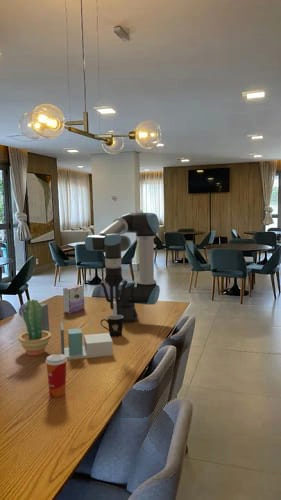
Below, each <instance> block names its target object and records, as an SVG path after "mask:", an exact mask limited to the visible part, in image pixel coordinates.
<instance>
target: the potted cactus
mask: <svg viewBox="0 0 281 500" xmlns="http://www.w3.org/2000/svg"><path fill="white" fill-rule="evenodd" d="M40 304H41V303H40V302H39V301H38V300H37V299H32V300H31V299H28V300H27V302H26V303H23V304H22V305H20V307H19V308H18V314H19V316H20V317H21V318H22V319H23V321H24V323H25V326H26V332H23V333H21V334H19V335H18V337H17V339H18V342H20V344H21V346H22V348H23V349H24V350H25V354H26V355H29V356H39V355H42V354H44V353H45V352H46V348H47V346H48V343H49V341H50V339H52V338H51V337H52V333H51V332H50V331H49V332H48V331H42V327H41V320H42V306H41V305H40Z"/></svg>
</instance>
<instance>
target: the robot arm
mask: <svg viewBox="0 0 281 500" xmlns="http://www.w3.org/2000/svg"><path fill="white" fill-rule="evenodd" d="M159 231H160V221H159V217H158V216H157V214H156V213H153V212H129V213H126V214H123V215H120V216H119V217H117V218H115V219H114V220H113V222H112V223H111V224H110V225H108V226H107V227H105V228H104V229H103V230H101V231H100V232H97V234H95V235H92V234H91V235H87V236H86V237H85V240H84V245H85V246H84V247H85V249H86V250H87V251H92V252H93V251H95V252H99V251H101V252H103V251H104V255H105V257H104V259H105V262H104V263H105V265H104V266H105V277H104V279H103V281H100V283H99V284H100V285H101V287H102V290H103V293H104V296H105V300H106V302H107V303H110V304H109V306H110V307H109V309H110V310H112V315H113V316H117V315H122V316H123V317H124V318H123V324H124V323H126V322H129V323H133V321H134V322H136V321H138V320H139V319H138V318H139V315H138V312H137V309H136V304H137V305H138V304H139V305H147V306H148V305H153V306H154V305H155V304H156V303H158V300H159V297H160V293H161V288H160V286H159V285H158V284H157V280H155V277H154V276H155V273H154V272H155V270H154V269H155V265H154V263H155V261H154V260H155V258H154V257H155V256H154V252H155V251H154V249H155V246H154V241H155V240H154V239H155V238H156V237H157V234H158V233H159ZM126 233H130V234H131V233H135V235H136V236H135V237H137V239H138V261H139V263H138V267H139V268H138V271H139V272H138V273H139V274H138V276H139V278H138V280H137V281H136V283H135V281H134V280H127V279H124V278H123V276H122V275H123V273H122V272H123V271H122V270H123V269H122V252H125V251H127V250H128V249H129V248H130V247H131V246H132V241H131V238H130V237H129V236H127V235H124V234H126ZM106 285H108V286H109V294H108V290H107V287H106ZM114 298H115V301H114ZM156 305H157V304H156ZM137 319H138V320H137ZM126 324H127V323H126Z"/></svg>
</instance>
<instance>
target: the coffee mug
mask: <svg viewBox="0 0 281 500" xmlns="http://www.w3.org/2000/svg"><path fill="white" fill-rule="evenodd" d="M123 318H124V317H123V316H122V315H117V316H113V314H110V315H108V316H107V319H106V318H104V319H101V320H100V326H102V328H104V329H105V330H107V331H108V333H109V335H110V337H111V338H120V337H122V336H121V335H123V327H124V323H123ZM103 321H105V322H106V323H107V325H108V327H106V326H104V325H103V324H102V323H103ZM119 336H120V337H119Z"/></svg>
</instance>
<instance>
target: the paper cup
mask: <svg viewBox="0 0 281 500" xmlns="http://www.w3.org/2000/svg"><path fill="white" fill-rule="evenodd" d="M67 361H68V360H67V359H66V356H65V355H63V354H62V353H60V354H59V353H56V354H54V353H53V354H50V355H47V357H46V360H45V364H46V373H47V382H48V391H49V393H48V394H49V396H50V397H52V398H61V397H63V396H65V394H66V377H67V375H66V373H67Z"/></svg>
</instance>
